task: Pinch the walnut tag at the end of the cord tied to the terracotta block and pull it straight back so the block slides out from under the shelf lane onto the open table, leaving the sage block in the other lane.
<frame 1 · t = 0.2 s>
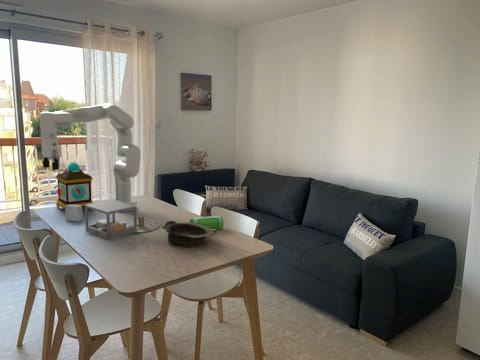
hand: (50, 168, 193), 31 cm above the table, tool pointing down, fingers open, 9 cm apart
stone bowl: (188, 242, 181), on the table
medicine box: (74, 220, 208), on the table
decorative lantern: (75, 209, 231), on the table
lane shelf: (112, 231, 192), on the table
green tapered cylinder: (206, 230, 201), on the table
sage block: (105, 230, 194), resting in lane shelf
tied block: (116, 234, 188), on the table
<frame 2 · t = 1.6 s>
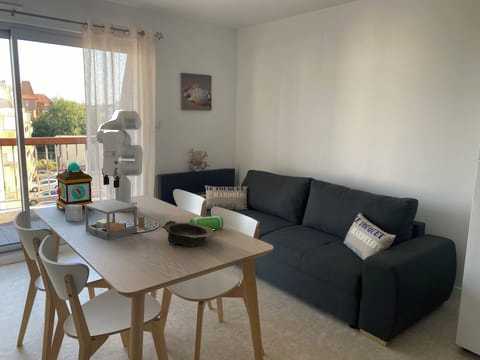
hand: (111, 186, 195), 23 cm above the table, tool pointing down, fingers open, 9 cm apart
nothing on the table moved.
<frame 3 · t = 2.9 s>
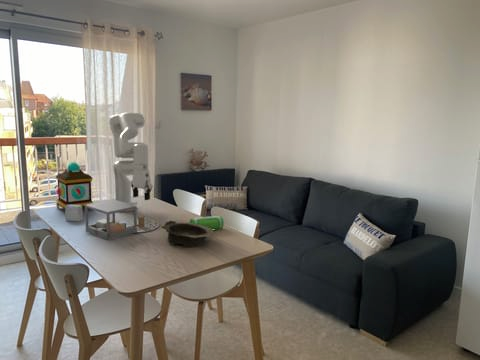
hand: (141, 198, 197), 16 cm above the table, tool pointing down, fingers open, 9 cm apart
nothing on the table moved.
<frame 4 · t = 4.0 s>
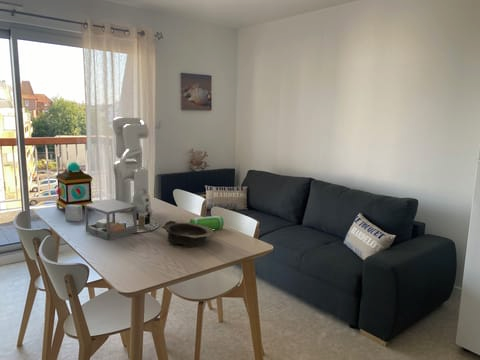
hand: (141, 222, 200), 3 cm above the table, tool pointing down, fingers open, 9 cm apart
nothing on the table moved.
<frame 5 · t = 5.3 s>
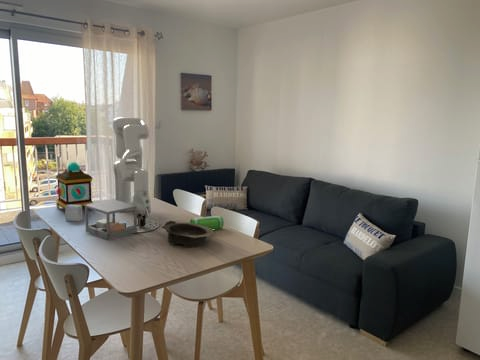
hand: (141, 225, 200), 1 cm above the table, tool pointing down, fingers closed on tied block
tied block: (116, 234, 188), on the table, touching gripper
everything else where it was.
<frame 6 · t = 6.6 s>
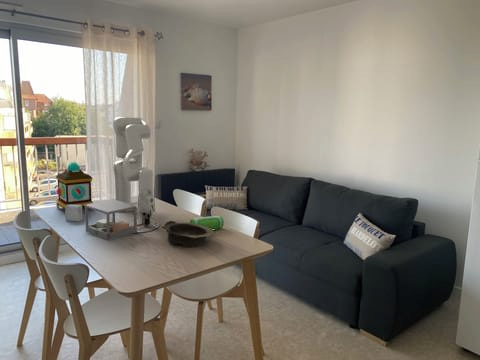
hand: (146, 224, 203), 1 cm above the table, tool pointing down, fingers closed on tied block
tied block: (121, 232, 190), on the table, touching gripper
everything else where it was.
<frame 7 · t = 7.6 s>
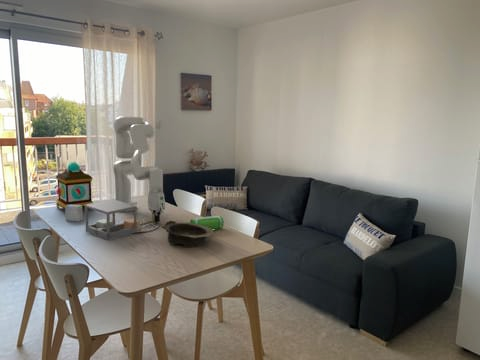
hand: (156, 221, 208), 1 cm above the table, tool pointing down, fingers closed on tied block
tied block: (132, 229, 195), on the table, touching gripper
everything else where it was.
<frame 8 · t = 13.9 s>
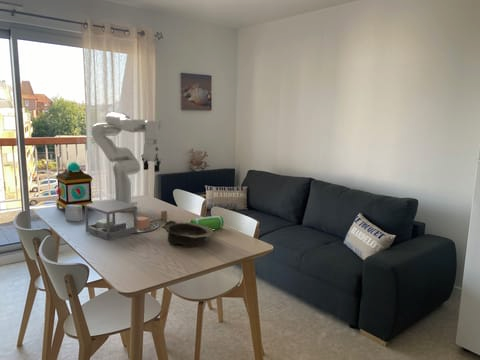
hand: (151, 170, 216), 28 cm above the table, tool pointing down, fingers open, 9 cm apart
tied block: (141, 227, 201), on the table
everything else where it was.
at the end: tied block inside the target area (1.1 cm from its centre), on the table; tied block tilted 0°; sage block moved 0.2 cm from its start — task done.
